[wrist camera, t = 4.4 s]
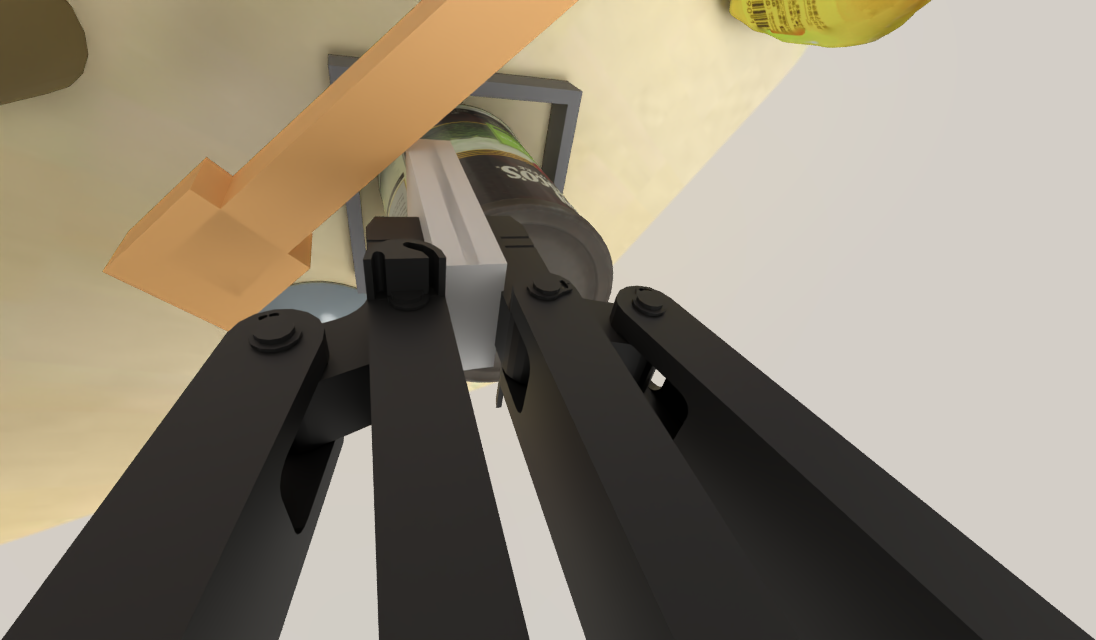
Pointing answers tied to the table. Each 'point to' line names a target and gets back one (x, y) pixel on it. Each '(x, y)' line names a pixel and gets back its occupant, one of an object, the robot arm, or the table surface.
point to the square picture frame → (496, 86)
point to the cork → (39, 48)
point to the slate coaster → (319, 299)
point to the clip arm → (319, 161)
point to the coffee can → (513, 204)
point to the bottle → (825, 19)
